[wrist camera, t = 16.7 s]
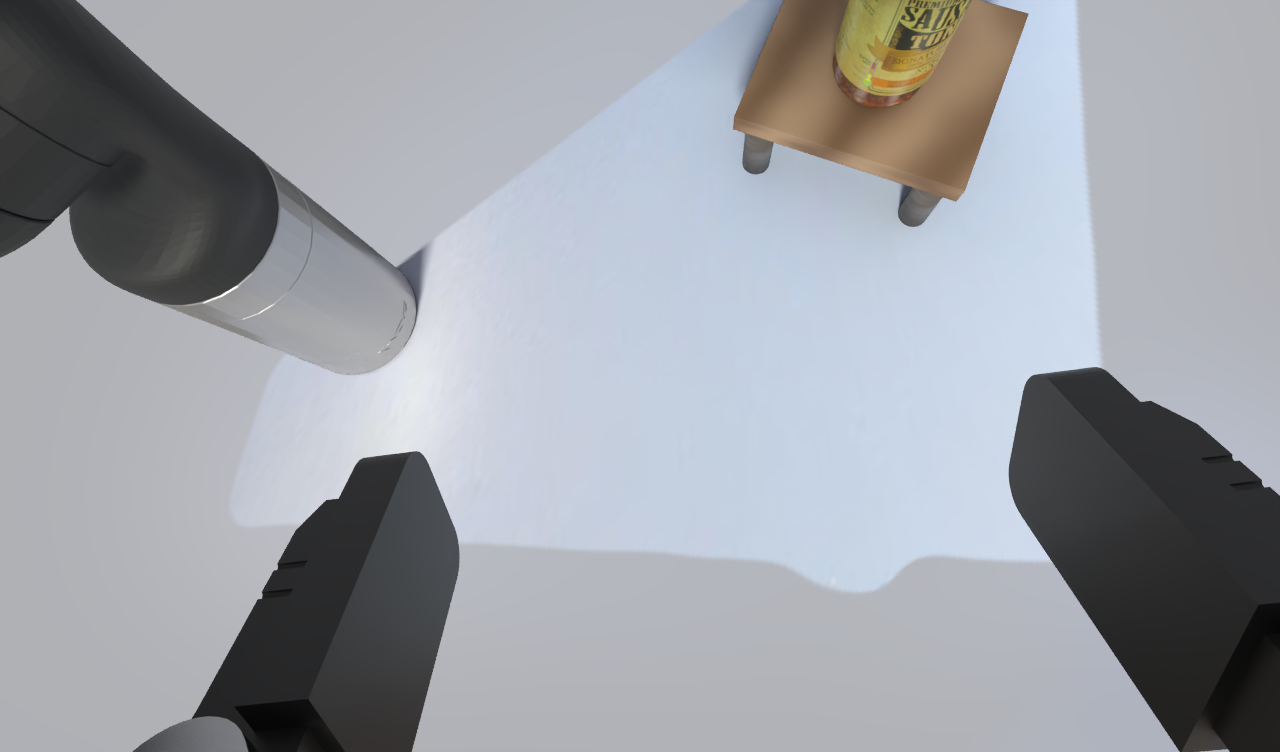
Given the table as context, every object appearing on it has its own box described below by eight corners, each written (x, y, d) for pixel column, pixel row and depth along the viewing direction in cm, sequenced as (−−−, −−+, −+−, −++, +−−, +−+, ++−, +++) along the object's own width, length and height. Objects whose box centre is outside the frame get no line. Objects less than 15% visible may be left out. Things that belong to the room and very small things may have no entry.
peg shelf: (729, 172, 52) (734, 116, 45) (790, 28, 54) (804, -49, 47) (926, 238, 50) (965, 190, 42) (982, 85, 52) (1028, 13, 44)
